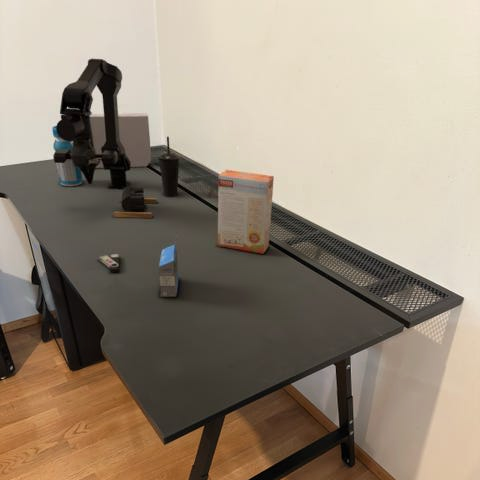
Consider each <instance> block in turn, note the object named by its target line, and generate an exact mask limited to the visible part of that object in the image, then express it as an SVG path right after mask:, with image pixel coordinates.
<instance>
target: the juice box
mask: <svg viewBox="0 0 480 480" xmlns="http://www.w3.org/2000/svg"><path fill="white" fill-rule="evenodd" d="M177 240H178V235H177V234H176V236H175V240H174V241H175V242H174V244H173V245H170V246H167V247H165V248H162V249H161V253H160V258H159V264H158V275H159V289H160V297H161V298H176V297H177V294H178V288H179V269H178V268H179V267H178V250H177Z"/></svg>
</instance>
